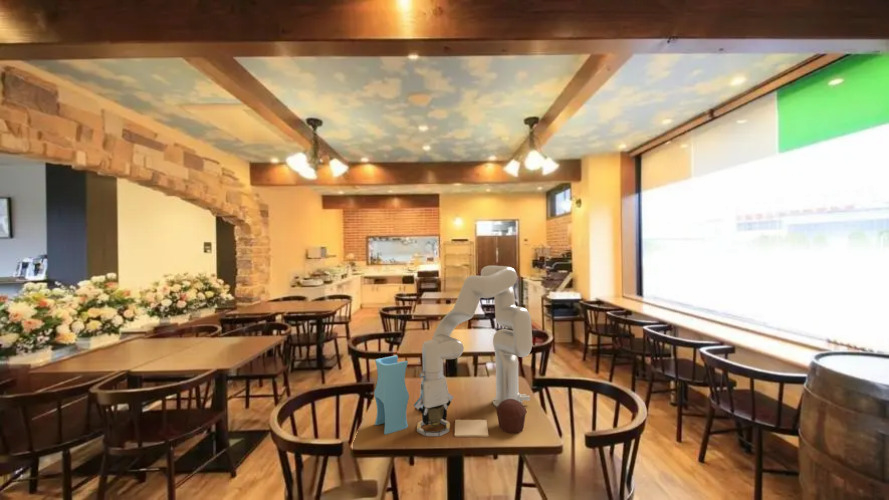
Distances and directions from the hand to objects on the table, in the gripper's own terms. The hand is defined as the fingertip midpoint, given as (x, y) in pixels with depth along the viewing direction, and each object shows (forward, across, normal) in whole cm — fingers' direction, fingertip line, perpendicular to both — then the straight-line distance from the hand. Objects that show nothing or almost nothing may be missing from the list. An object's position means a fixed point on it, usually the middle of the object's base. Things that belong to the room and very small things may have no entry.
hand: (434, 421), depth 146 cm
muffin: (+3, +25, -14) cm, 29 cm away
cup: (+2, 0, 0) cm, 2 cm away
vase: (+3, -14, +10) cm, 17 cm away
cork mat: (+3, +11, -7) cm, 14 cm away
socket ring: (+3, -1, 0) cm, 3 cm away
